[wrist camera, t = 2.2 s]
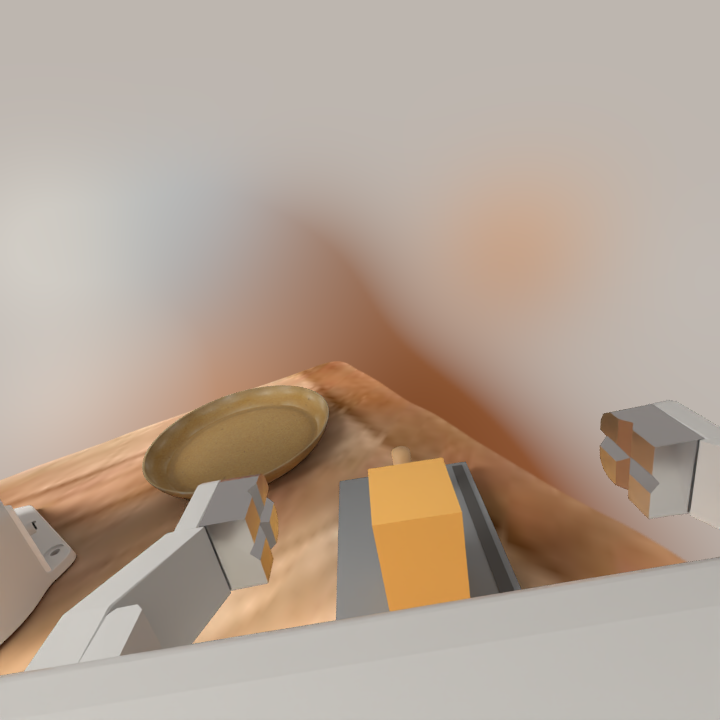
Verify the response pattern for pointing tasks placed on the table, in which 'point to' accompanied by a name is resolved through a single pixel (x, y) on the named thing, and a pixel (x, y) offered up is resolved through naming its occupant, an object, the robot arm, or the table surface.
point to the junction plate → (360, 558)
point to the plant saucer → (237, 439)
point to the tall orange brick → (418, 534)
